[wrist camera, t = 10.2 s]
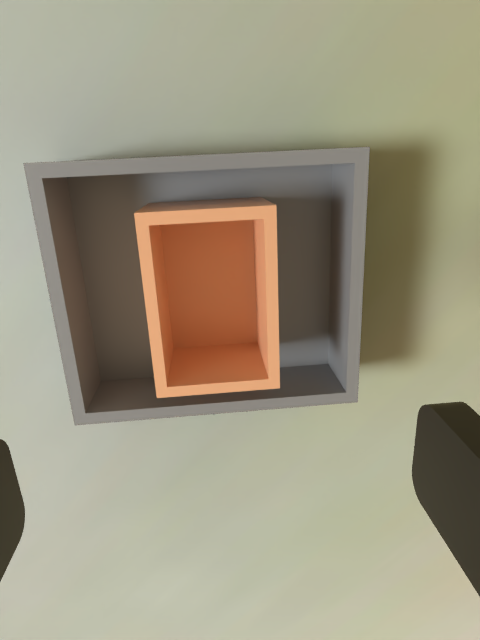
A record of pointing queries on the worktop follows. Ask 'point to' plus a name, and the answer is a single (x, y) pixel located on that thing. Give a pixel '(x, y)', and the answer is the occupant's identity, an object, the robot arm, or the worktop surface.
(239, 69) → the worktop surface
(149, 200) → the large crate
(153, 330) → the small crate
